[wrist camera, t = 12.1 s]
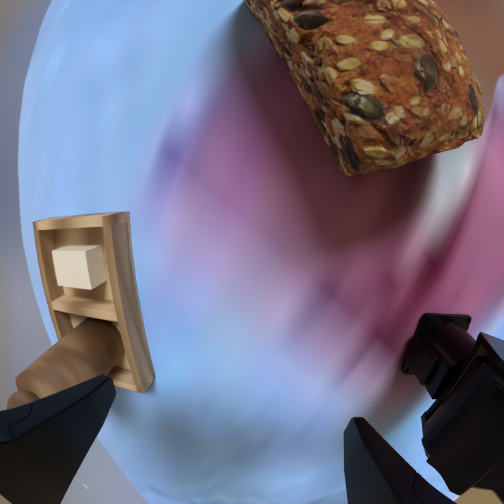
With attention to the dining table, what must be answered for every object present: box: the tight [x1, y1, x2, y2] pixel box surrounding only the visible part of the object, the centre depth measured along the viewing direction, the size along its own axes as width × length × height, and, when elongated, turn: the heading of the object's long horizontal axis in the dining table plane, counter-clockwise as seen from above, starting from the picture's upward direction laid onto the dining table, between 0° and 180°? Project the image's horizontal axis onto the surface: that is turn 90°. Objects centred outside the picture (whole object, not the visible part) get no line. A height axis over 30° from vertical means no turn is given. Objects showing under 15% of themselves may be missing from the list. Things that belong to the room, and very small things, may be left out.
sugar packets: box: [52, 245, 107, 290], centre depth 20 cm, size 4×3×2 cm
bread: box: [244, 0, 485, 176], centre depth 11 cm, size 19×11×10 cm, turn 23°
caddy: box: [33, 211, 155, 393], centre depth 21 cm, size 10×16×3 cm, turn 1°
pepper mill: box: [7, 317, 125, 409], centre depth 16 cm, size 5×5×14 cm
